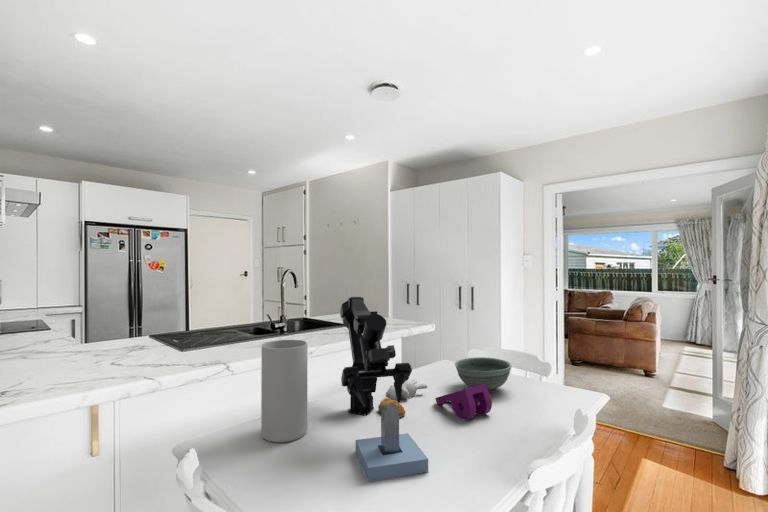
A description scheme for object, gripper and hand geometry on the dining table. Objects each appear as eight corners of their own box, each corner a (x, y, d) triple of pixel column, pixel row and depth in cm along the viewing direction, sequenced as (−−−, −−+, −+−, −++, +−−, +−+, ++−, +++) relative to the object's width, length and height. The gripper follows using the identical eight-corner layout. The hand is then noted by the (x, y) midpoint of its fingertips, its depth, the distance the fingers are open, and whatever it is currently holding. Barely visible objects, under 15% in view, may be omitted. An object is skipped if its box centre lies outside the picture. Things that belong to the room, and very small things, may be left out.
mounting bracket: (437, 426, 128) (473, 418, 115) (429, 399, 132) (464, 389, 118) (458, 419, 134) (495, 411, 120) (450, 394, 137) (485, 383, 123)
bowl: (519, 398, 137) (519, 370, 137) (460, 398, 137) (459, 370, 137) (502, 381, 157) (502, 356, 158) (450, 381, 158) (450, 356, 158)
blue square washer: (355, 451, 98) (355, 439, 98) (407, 444, 102) (407, 433, 102) (368, 481, 85) (368, 467, 85) (428, 472, 89) (428, 458, 89)
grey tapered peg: (381, 459, 95) (381, 405, 95) (394, 457, 96) (394, 403, 96) (384, 466, 91) (384, 410, 92) (399, 464, 92) (399, 408, 93)
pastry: (410, 416, 122) (410, 403, 122) (394, 421, 118) (394, 408, 118) (392, 407, 130) (391, 395, 130) (375, 412, 125) (375, 400, 125)
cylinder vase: (292, 420, 118) (292, 338, 119) (316, 433, 109) (316, 343, 110) (253, 433, 109) (253, 344, 110) (275, 448, 100) (275, 350, 101)
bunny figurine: (380, 386, 139) (411, 373, 148) (381, 400, 139) (413, 387, 148) (397, 393, 131) (429, 379, 140) (398, 407, 132) (430, 393, 141)
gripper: (343, 337, 103) (350, 392, 92) (409, 333, 108) (424, 385, 97) (338, 359, 111) (345, 413, 100) (400, 355, 116) (413, 406, 105)
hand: (382, 404), depth 100 cm, fingers open, 9 cm apart
